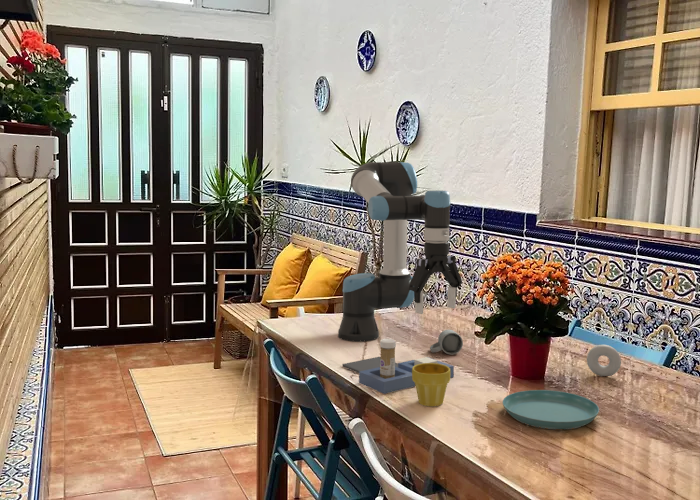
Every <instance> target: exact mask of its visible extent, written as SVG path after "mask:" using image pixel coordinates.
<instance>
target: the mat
mask: <svg viewBox="0 0 700 500" xmlns="http://www.w3.org/2000/svg"><path fill="white" fill-rule="evenodd" d="M380 359H381V356H375V357H371V358H366V359H365V358H364V359H361V360H356V361H351V362H346V363H342V365H341V366H342V368H345V369H348V370H350V371H352V372H355V373H357V374H359V371H364V370H369V369H373V368H378V367H380ZM398 363H399V362H395V367H398Z"/></svg>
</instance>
